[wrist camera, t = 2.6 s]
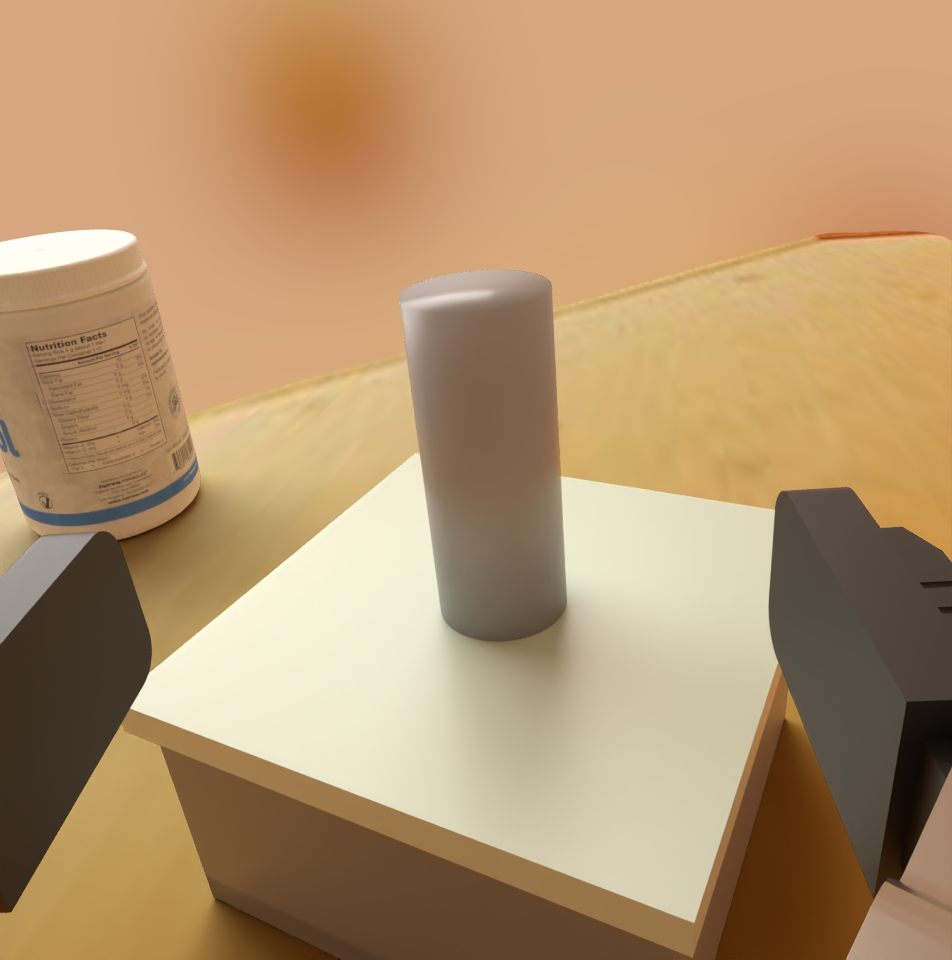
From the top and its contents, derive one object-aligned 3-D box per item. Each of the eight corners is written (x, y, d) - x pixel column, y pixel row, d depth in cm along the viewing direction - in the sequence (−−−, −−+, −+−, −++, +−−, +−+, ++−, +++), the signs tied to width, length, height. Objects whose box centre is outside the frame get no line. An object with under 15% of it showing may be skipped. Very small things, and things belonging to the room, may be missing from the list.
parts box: (213, 897, 26) (152, 723, 23) (442, 627, 37) (423, 483, 33) (668, 1119, 20) (673, 924, 17) (784, 717, 30) (802, 550, 27)
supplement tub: (12, 510, 50) (-88, 257, 43) (167, 454, 55) (101, 220, 48) (61, 574, 43) (-47, 286, 37) (234, 504, 48) (167, 239, 42)
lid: (124, 730, 23) (-9, 374, 18) (418, 475, 34) (383, 217, 29) (692, 957, 16) (714, 480, 11) (821, 544, 27) (858, 223, 23)
